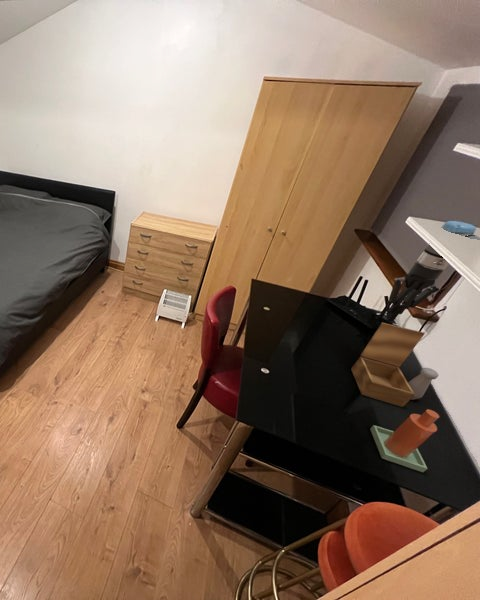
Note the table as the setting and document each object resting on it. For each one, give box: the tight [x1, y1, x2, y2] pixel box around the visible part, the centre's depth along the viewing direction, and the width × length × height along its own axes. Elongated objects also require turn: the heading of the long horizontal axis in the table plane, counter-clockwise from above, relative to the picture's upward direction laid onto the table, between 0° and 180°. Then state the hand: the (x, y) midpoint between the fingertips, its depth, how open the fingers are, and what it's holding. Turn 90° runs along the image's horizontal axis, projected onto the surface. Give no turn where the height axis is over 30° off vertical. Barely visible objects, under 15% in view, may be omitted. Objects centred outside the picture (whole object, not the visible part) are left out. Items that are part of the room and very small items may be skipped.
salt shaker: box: [407, 367, 439, 401], centre depth 116 cm, size 6×6×13 cm
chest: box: [350, 356, 415, 408], centre depth 120 cm, size 15×13×7 cm
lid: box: [360, 322, 425, 368], centre depth 120 cm, size 15×13×1 cm
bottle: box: [384, 409, 440, 457], centre depth 95 cm, size 6×6×17 cm
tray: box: [369, 424, 428, 473], centre depth 100 cm, size 11×10×2 cm
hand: (389, 319), depth 125 cm, fingers closed
